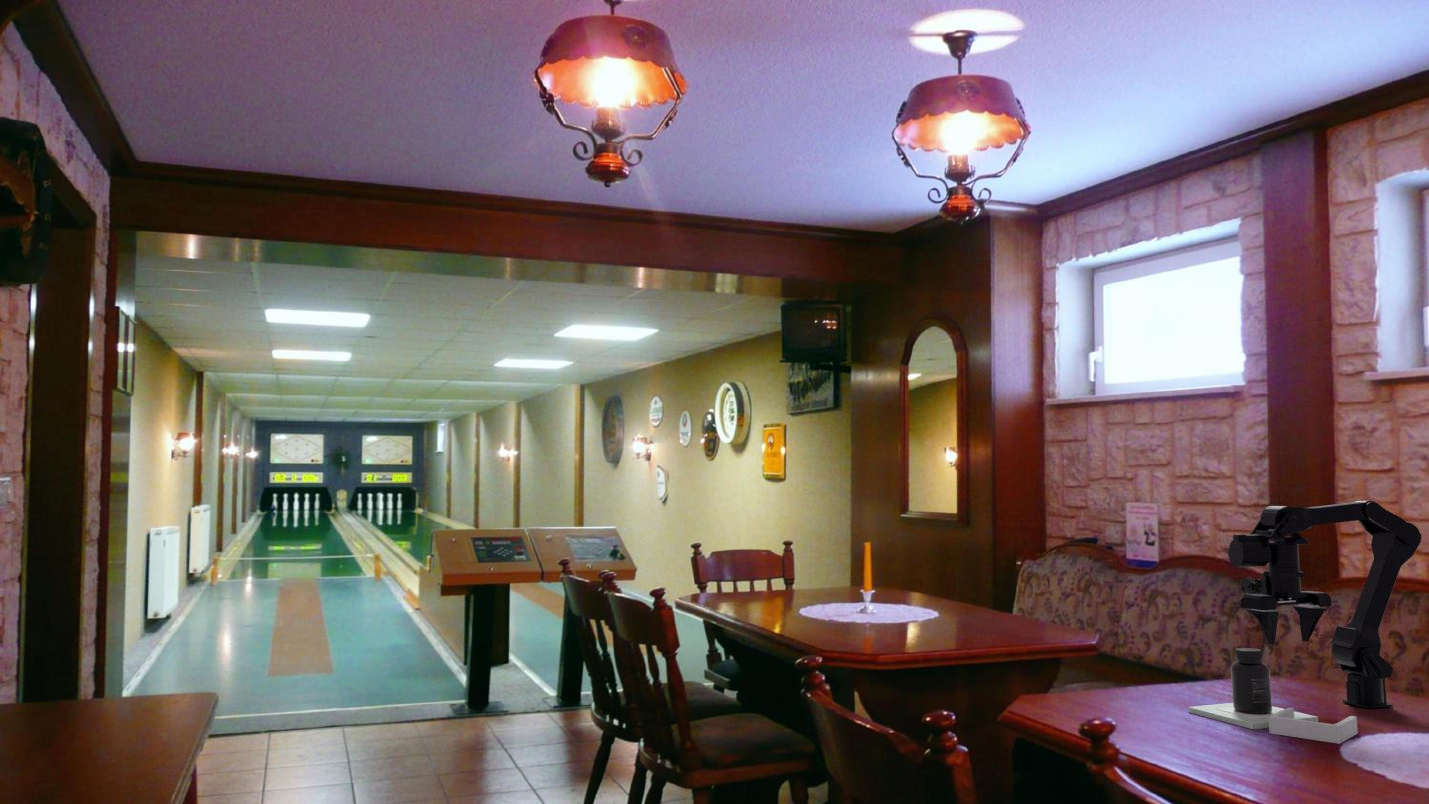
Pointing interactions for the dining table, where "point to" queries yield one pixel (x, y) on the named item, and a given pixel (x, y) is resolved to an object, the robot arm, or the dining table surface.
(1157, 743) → the dining table surface
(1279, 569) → the robot arm
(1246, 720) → the docking plate
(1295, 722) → the holster
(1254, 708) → the supplement bottle
